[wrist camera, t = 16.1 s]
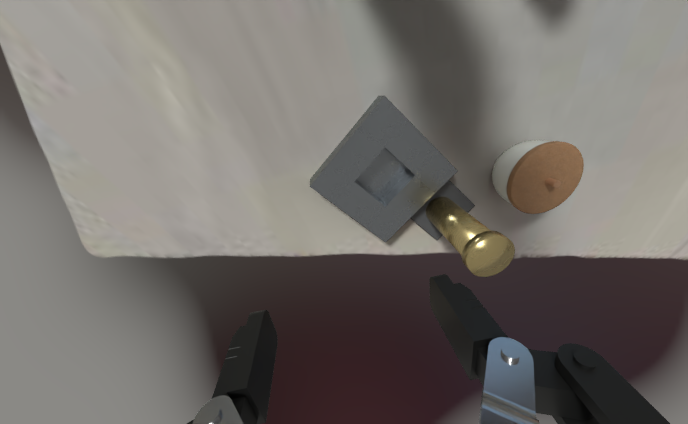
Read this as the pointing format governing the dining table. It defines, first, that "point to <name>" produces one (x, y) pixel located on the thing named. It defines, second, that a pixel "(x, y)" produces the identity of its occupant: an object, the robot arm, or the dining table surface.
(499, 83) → the dining table surface
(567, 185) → the lidded jar
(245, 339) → the robot arm
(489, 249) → the brass plug
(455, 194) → the rubber mat
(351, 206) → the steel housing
